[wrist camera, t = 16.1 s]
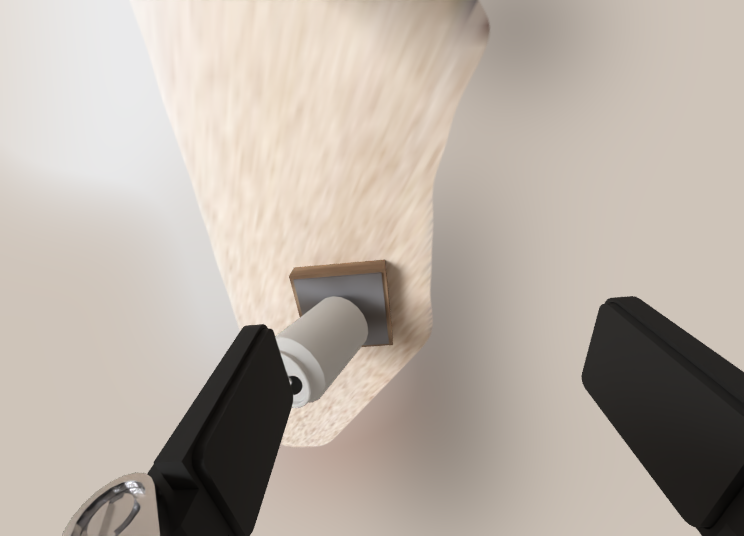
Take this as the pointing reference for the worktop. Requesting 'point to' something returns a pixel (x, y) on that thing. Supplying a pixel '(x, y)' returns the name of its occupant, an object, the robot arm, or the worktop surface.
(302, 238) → the worktop surface
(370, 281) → the plinth
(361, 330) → the can
